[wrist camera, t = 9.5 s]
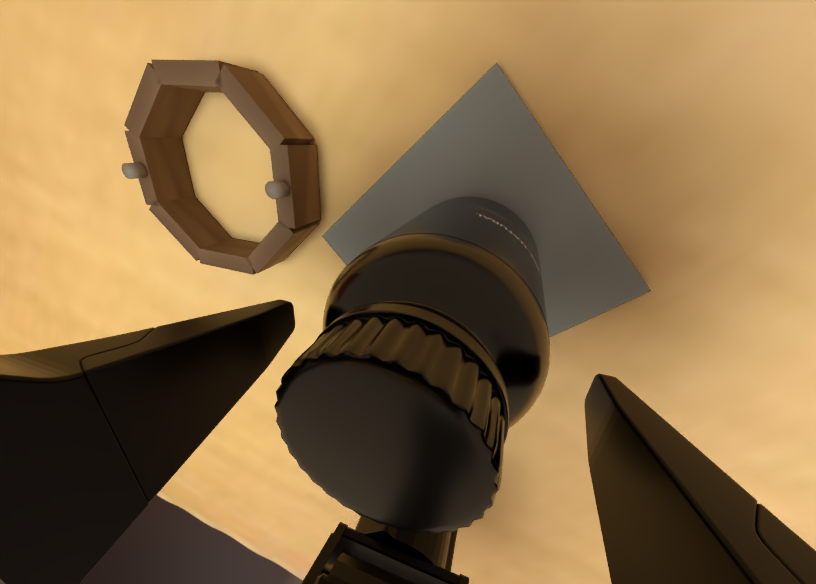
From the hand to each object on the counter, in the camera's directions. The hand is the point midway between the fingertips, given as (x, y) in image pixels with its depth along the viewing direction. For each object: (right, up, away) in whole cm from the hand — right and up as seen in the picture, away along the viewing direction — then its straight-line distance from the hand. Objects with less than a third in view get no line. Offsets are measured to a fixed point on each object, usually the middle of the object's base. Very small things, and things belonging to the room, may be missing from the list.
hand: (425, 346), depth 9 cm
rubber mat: (+3, +3, +8) cm, 9 cm away
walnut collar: (-11, +9, +10) cm, 17 cm away
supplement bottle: (+3, +3, +7) cm, 9 cm away
